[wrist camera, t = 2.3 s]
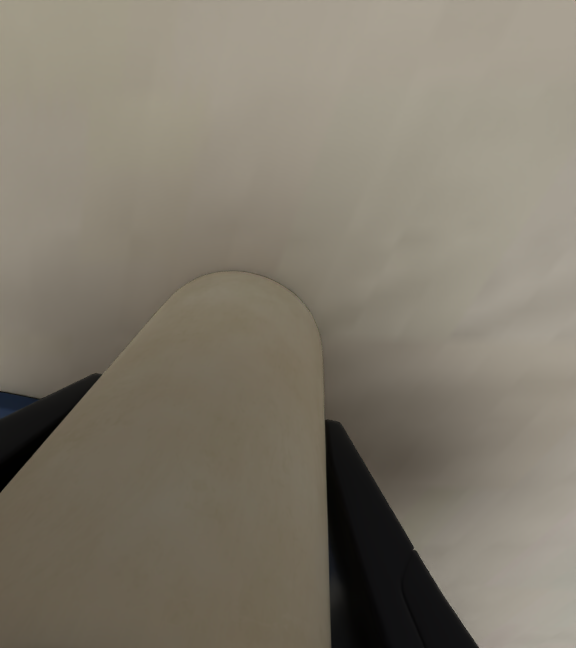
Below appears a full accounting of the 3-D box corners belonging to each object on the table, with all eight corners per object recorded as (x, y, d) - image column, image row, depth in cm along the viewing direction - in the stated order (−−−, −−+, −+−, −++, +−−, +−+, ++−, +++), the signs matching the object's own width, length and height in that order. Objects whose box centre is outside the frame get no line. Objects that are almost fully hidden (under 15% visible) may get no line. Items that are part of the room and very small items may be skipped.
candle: (163, 247, 10) (-809, 1023, 1) (344, 293, 10) (494, 1165, 2) (156, 387, 13) (-180, 934, 4) (299, 419, 13) (265, 992, 4)
